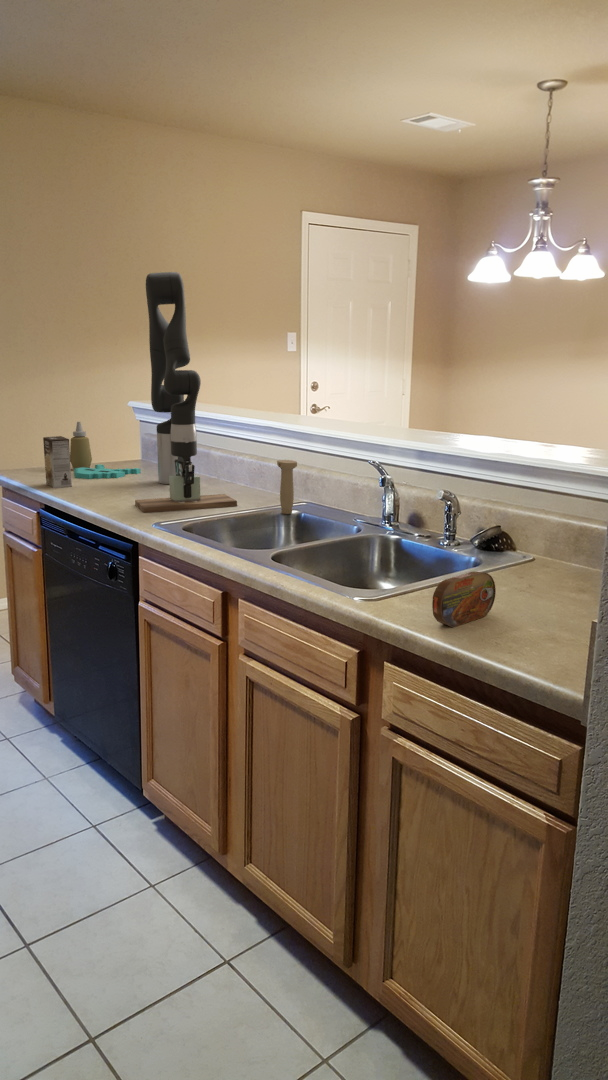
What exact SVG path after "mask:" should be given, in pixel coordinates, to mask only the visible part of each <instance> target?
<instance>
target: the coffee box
mask: <svg viewBox="0 0 608 1080" xmlns="http://www.w3.org/2000/svg"><path fill="white" fill-rule="evenodd" d="M42 439H43V453H44V467H45V468H44V469H45V481H46V482H45V483H46V485H48V486H50V487H52V488H53V489H59V488H68V487H69V488H70V487H72V469H71V467H72V464H71V462H70V438H67V437H64V436H62V435H58V436H57V435H56V436H44V437H42Z"/></svg>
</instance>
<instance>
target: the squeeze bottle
mask: <svg viewBox="0 0 608 1080" xmlns="http://www.w3.org/2000/svg"><path fill="white" fill-rule="evenodd" d="M69 446H70V465H71V467H72V469H73V470H74V469H76V468H81V467H85V468H91V464H92V461H93V457H92V452H91V445H90V439H89V437H87V432H86V431H84V430H83V425H82V423H81V421H77V422H76V428H75V430H74V431H73V432H72V437H71V438H70V444H69Z"/></svg>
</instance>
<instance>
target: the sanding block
mask: <svg viewBox="0 0 608 1080" xmlns="http://www.w3.org/2000/svg"><path fill="white" fill-rule="evenodd" d="M169 480H170V484H169V498H170V499H171V500H172V501H174V502H181V501H196V500H200V496H201V477H200V476H199V475H197V474H194V484H192V485H191V494H192V497H191V498H184V487H183V486H184V485H183V478H181V476H169ZM187 480H189V478H188V479H187Z"/></svg>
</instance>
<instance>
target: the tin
mask: <svg viewBox="0 0 608 1080" xmlns="http://www.w3.org/2000/svg"><path fill="white" fill-rule="evenodd" d="M495 583H496V582H495V580H494V578H493V577H492V576H491V575H490V573H487V572H481V571H470V572H466V573H462V574H459V575H456V576H453V577H449V578H446V579H445V578H444V580H442V581H441V582H439V584H438V585H437V586H436V588H435V590H434V591H433V594H432V603H431V605H432V609H431V610H432V614H433V618H434V619H435V620H436V622H438V623H439V624H441V625H444V626H445V625H446V626H448V627H450V628H456V627H459V626H463V625H464V624H467V623H468V624H469V623H471V622H473V621H476V620H480V619H482V618H485V617H486V616H487V615H488V614H489V612H490V611H491V610H492V608H493V605H494V602H495V598H496V584H495Z"/></svg>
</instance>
